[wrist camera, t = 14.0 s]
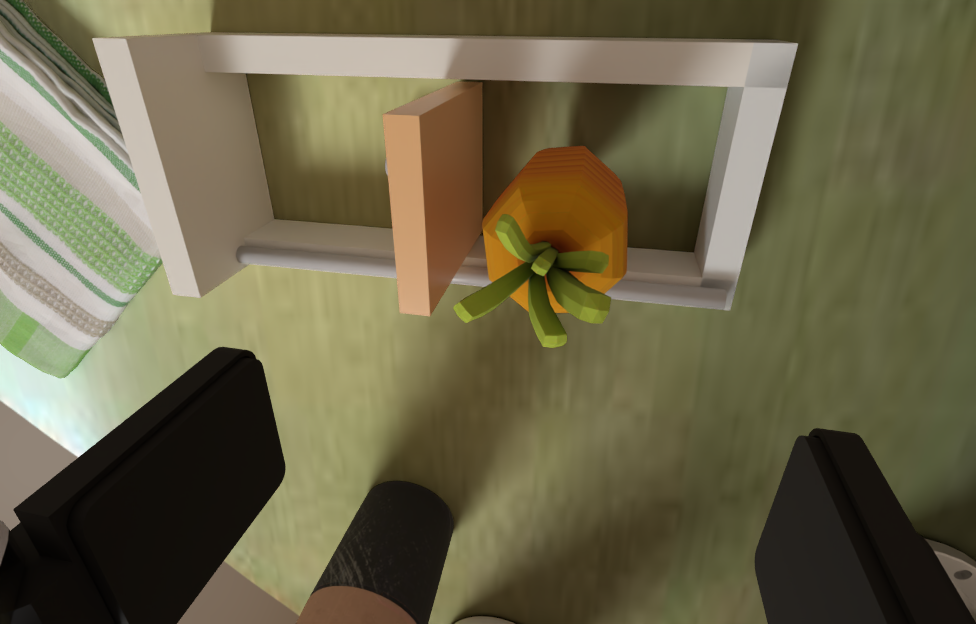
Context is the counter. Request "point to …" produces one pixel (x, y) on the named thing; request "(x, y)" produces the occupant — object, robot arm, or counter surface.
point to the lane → (370, 250)
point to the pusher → (434, 189)
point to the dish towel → (62, 201)
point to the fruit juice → (483, 620)
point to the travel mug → (385, 560)
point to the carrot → (554, 242)
